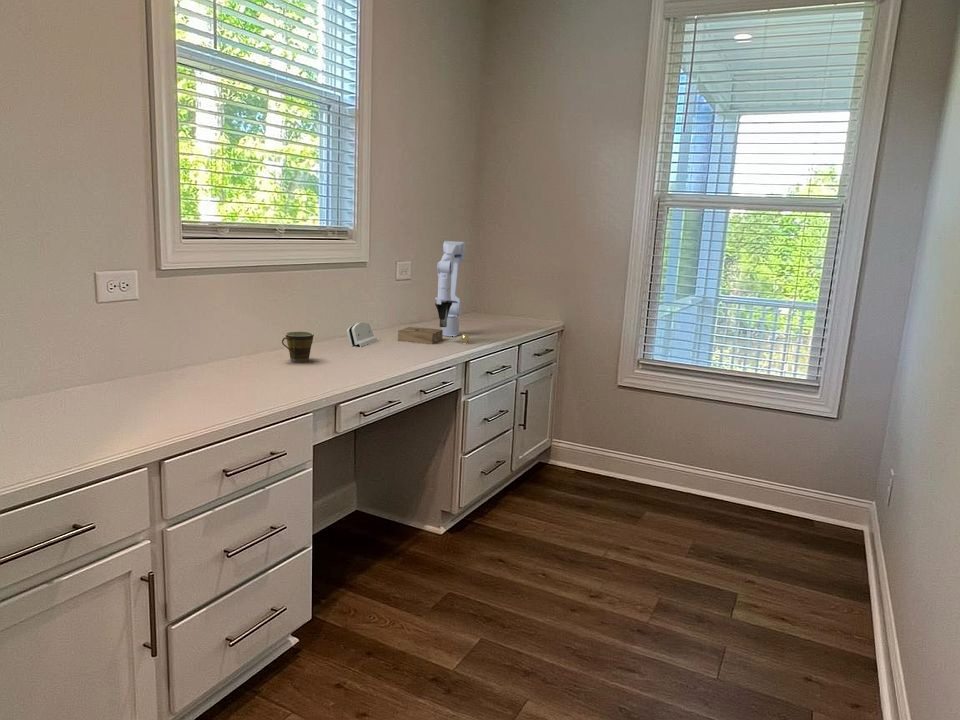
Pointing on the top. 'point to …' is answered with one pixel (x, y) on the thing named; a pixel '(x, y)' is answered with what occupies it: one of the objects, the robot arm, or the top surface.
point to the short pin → (465, 338)
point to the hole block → (420, 335)
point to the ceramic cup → (299, 345)
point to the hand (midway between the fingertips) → (443, 318)
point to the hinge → (360, 334)
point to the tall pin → (444, 321)
